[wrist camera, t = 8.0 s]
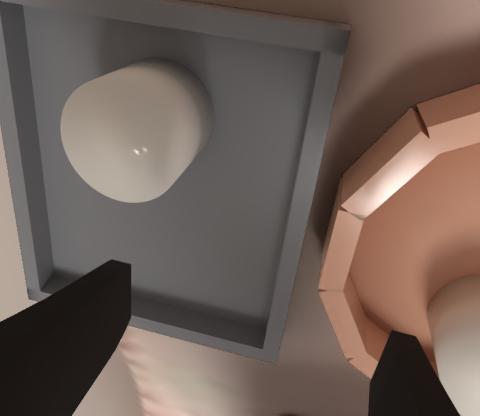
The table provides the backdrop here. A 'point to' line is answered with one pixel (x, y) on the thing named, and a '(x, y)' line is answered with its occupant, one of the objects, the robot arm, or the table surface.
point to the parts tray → (196, 174)
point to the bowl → (404, 227)
